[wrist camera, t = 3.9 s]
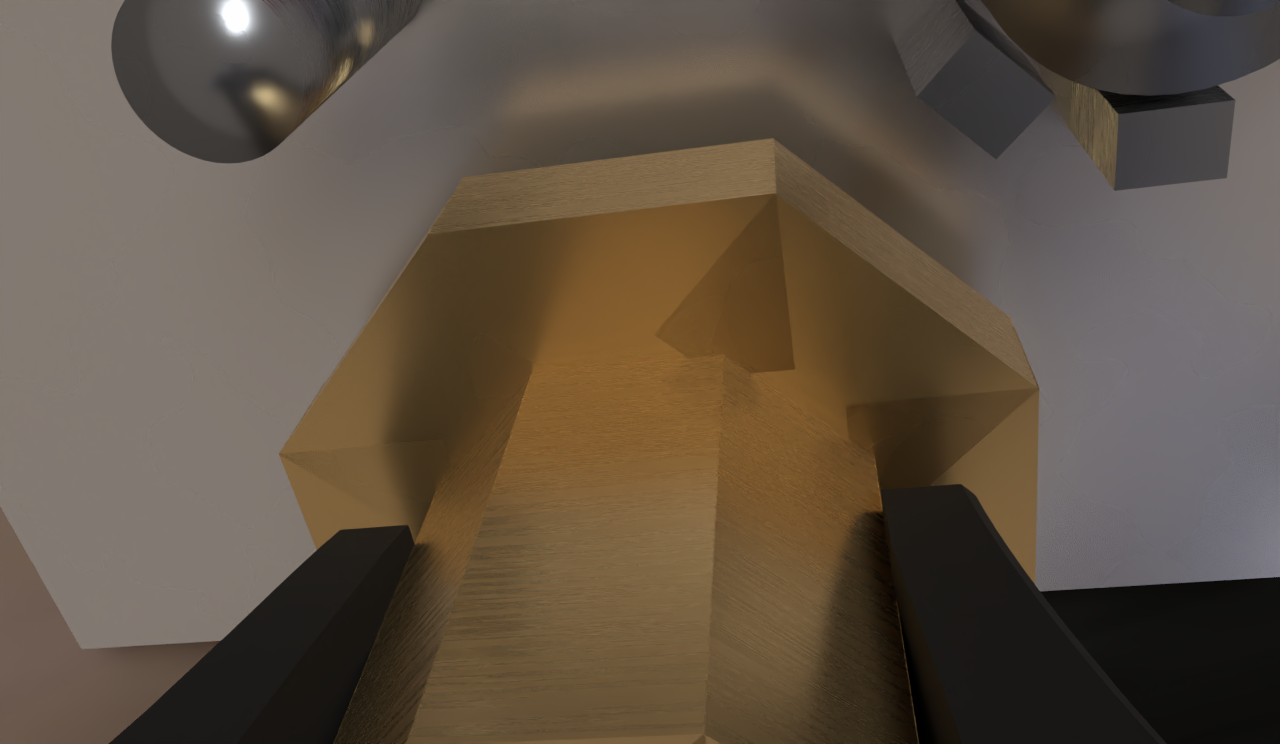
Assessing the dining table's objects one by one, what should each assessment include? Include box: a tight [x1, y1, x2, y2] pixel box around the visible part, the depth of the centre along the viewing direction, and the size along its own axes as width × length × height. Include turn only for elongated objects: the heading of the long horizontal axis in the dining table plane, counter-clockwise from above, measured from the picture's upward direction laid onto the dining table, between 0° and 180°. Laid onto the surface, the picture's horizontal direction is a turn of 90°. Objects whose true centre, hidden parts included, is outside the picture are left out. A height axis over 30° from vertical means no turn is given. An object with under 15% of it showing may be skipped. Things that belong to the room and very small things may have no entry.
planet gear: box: [279, 138, 1039, 744], centre depth 9 cm, size 6×6×5 cm
